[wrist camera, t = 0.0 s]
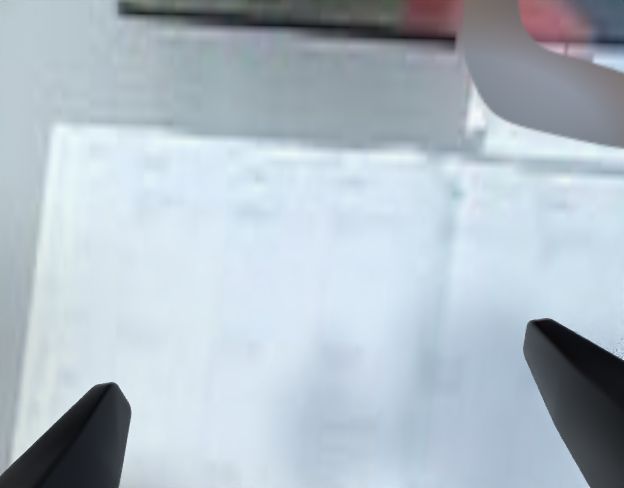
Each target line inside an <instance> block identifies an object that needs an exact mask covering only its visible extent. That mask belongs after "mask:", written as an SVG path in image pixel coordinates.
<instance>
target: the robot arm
mask: <svg viewBox="0 0 624 488" xmlns="http://www.w3.org/2000/svg"><path fill="white" fill-rule="evenodd" d="M523 351H524V356H525V359H526V361H527V364H528V366H529V368H530V370H531V373H532V375H533V377H534V380H535V382H536V384H537V386H538V389H539V391H540V393H541V395H542V398H543V400H544V402H545V405H546V407H547V409H548V411H549V414H550V416H551V418H552V420H553V422H554V424H555V426H556V428H557V430H558V432H559V434H560V436H561V437H562V439H563V441H564V443H565V444H566V446H567V448H568V450H569V451H570V453H571V455H572V457H573V458H574V460H575V462H576V464H577V465H578V467H579V469H580V471H581V472H582V474H583V476H584V478H585V479H586V481H587V483H588V485H589V486H590V488H624V360H622V359H620V358H619V357H617V356H615V355H613V354H612V353H610V352H608V351H606V350H605V349H603V348H601V347H600V346H598V345H596V344H594V343H593V342H591V341H589V340H587V339H586V338H584V337H582V336H580V335H579V334H577V333H575V332H573V331H572V330H570V329H568V328H566V327H565V326H563V325H561V324H559V323H558V322H556V321H554V320H552V319H549V318H543V319H537V320H531V321H529V322H528V324H527V328H526V334H525V340H524V346H523ZM130 419H131V407H130V404H129V402H128V401H127V399H126V398H125V396H124V394H123V393H122V391H121V389H120V388H119V386H118V385H117V384H116V383H114V382H110V383H103V384H97V385H95V386H94V387H92V388H91V389H90V390H89V391H88V392H87V393H86V394H85V395H84V396H83V397H82V398H81V399H80V400H79V401H78V402H77V403H76V404H75V405H73V406H72V407H71V408H70V409H69V410H68V411H67V412H66V413H65V414H64V415H63V416H62V417H61V418H60V419H59V420H58V421H57V422H56V423H55V424H54V425H53V426H52V427H51V428H50V429H49V430H48V431H46V432H45V433H44V434H43V435H42V436H41V437H40V438H39V439H38V440H37V441H36V442H35V443H34V444H33V445H32V446H31V447H30V448H29V449H28V450H27V451H26V452H25V453H24V454H23V455H22V456H20V457H19V458H18V459H17V460H16V461H15V462H14V463H13V464H12V465H11V466H10V467H9V468H8V469H7V470H6V471H5V472H4V473H3V474H2V475H1V476H0V488H119V483H120V478H121V473H122V467H123V461H124V455H125V449H126V443H127V437H128V431H129V425H130Z"/></svg>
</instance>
